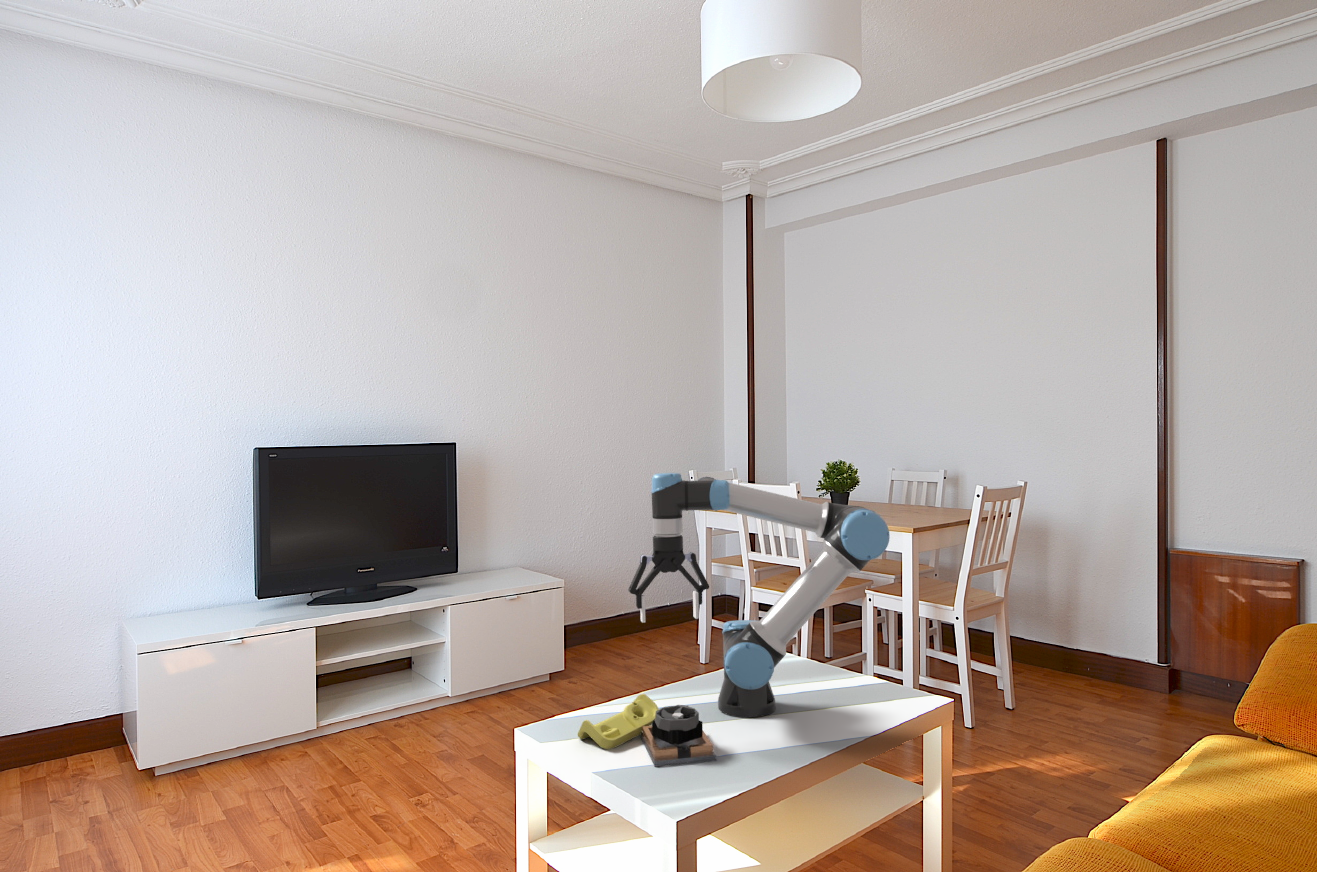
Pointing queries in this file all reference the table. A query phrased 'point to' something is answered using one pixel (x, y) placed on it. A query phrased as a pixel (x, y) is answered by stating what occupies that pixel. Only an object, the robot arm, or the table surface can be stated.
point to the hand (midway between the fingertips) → (669, 619)
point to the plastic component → (621, 724)
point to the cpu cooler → (677, 724)
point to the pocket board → (677, 750)
